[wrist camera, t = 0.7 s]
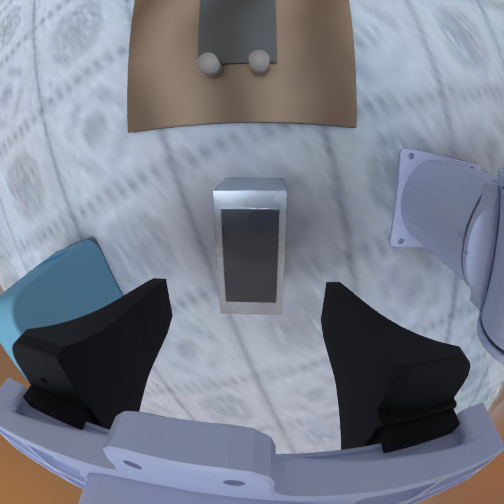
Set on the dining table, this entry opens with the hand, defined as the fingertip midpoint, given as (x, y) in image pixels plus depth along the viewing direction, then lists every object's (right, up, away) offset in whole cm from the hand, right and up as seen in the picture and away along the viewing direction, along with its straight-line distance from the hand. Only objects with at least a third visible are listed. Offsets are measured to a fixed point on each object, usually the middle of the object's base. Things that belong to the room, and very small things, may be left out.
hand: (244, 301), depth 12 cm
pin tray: (-1, +19, +2) cm, 19 cm away
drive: (0, +4, +9) cm, 10 cm away
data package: (-14, -2, +12) cm, 19 cm away
